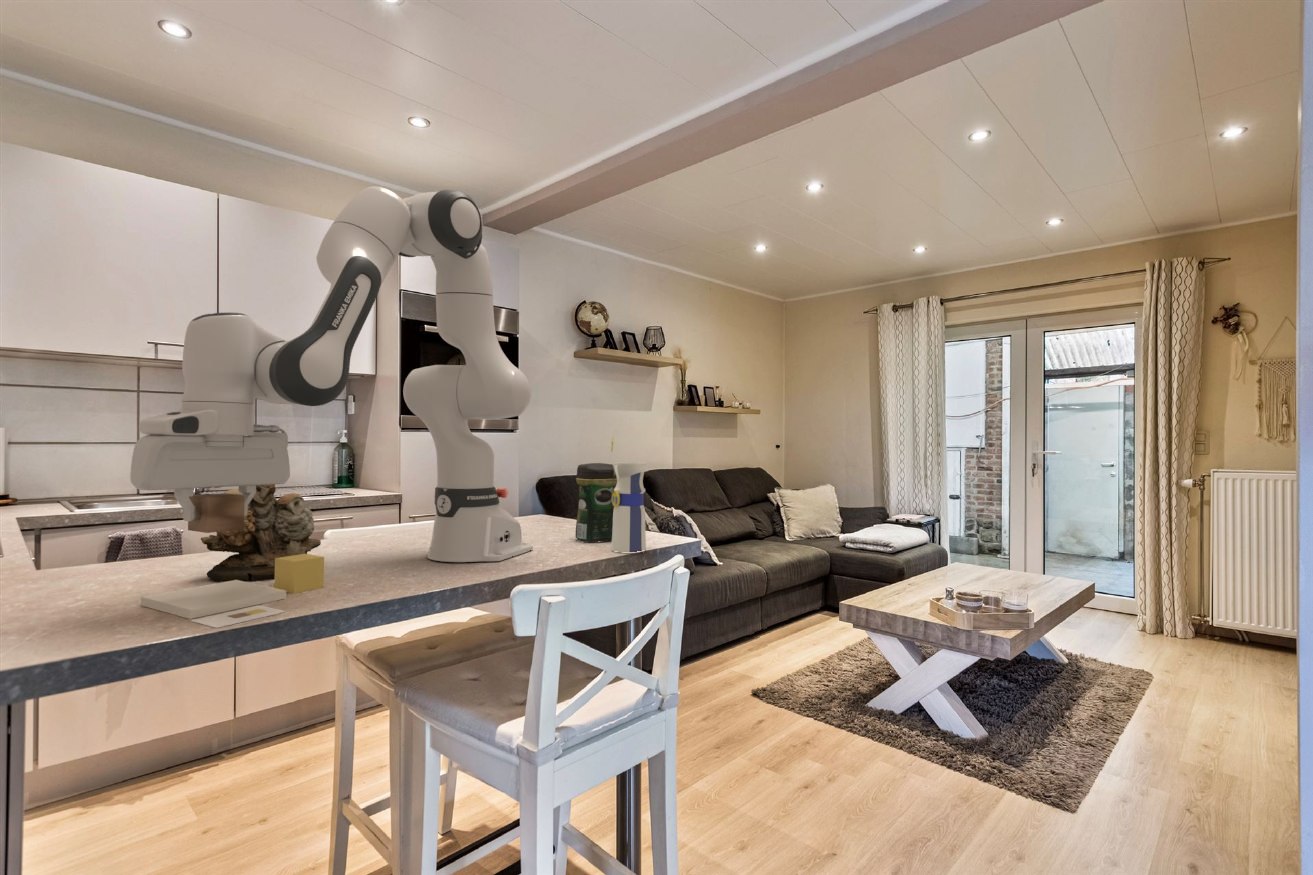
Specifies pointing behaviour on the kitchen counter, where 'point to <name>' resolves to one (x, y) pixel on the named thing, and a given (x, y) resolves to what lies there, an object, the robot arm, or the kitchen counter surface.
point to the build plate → (212, 598)
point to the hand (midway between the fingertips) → (216, 518)
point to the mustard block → (299, 573)
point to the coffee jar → (595, 502)
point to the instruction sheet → (237, 616)
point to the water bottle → (629, 507)
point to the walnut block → (218, 512)
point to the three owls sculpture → (263, 536)
